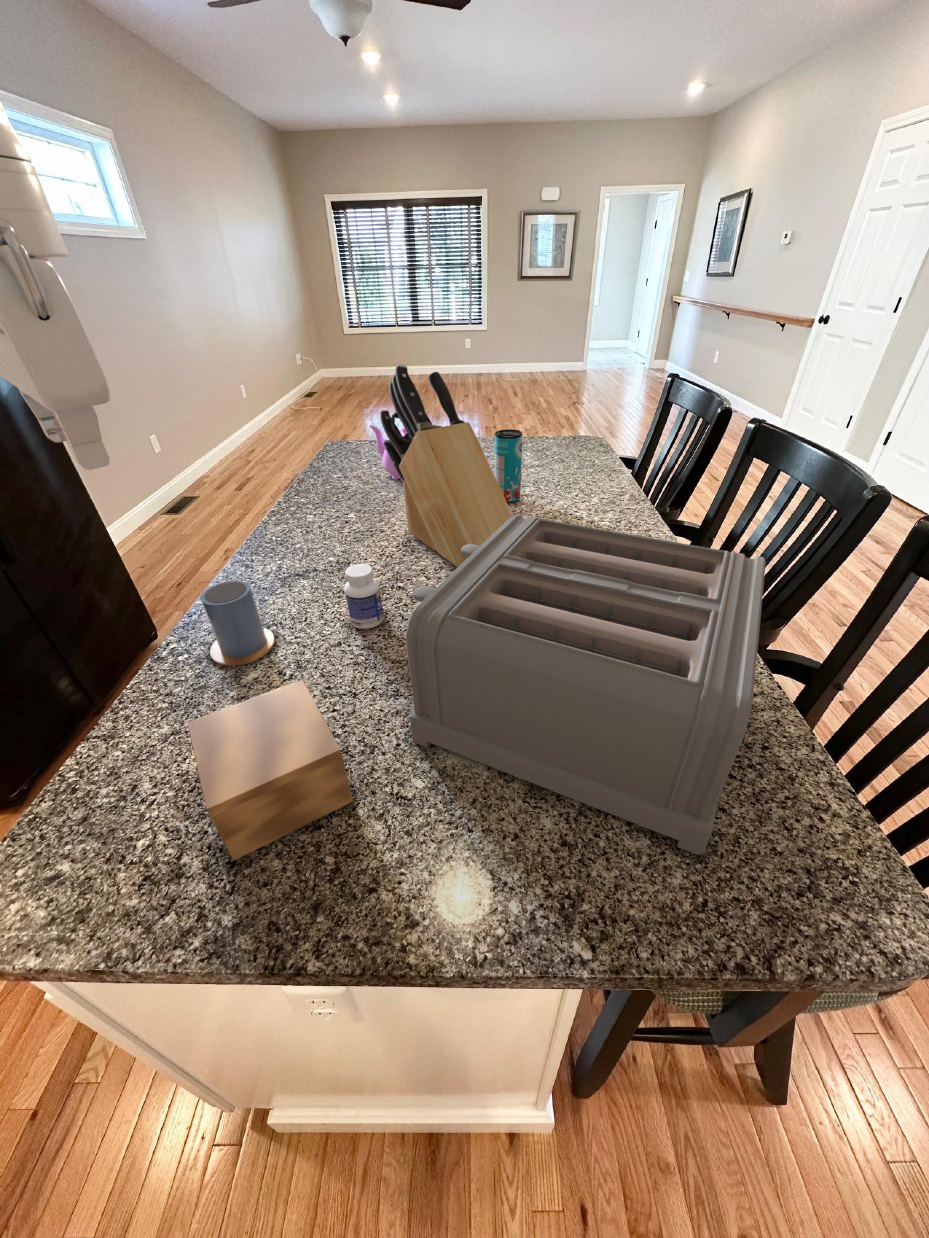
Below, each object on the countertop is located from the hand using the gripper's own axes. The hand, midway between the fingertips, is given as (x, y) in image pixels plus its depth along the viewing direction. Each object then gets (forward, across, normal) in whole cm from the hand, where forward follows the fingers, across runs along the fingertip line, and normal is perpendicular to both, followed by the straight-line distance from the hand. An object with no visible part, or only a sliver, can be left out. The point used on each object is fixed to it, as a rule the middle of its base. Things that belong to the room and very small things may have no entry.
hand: (78, 452), depth 39 cm
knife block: (+35, +18, -55) cm, 68 cm away
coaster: (+35, +16, -11) cm, 40 cm away
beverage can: (+36, +24, -78) cm, 89 cm away
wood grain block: (+34, -10, -2) cm, 36 cm away
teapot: (+36, +55, -75) cm, 99 cm away
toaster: (+34, -24, -35) cm, 55 cm away
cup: (+34, +16, -11) cm, 40 cm away
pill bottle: (+35, +8, -28) cm, 45 cm away
